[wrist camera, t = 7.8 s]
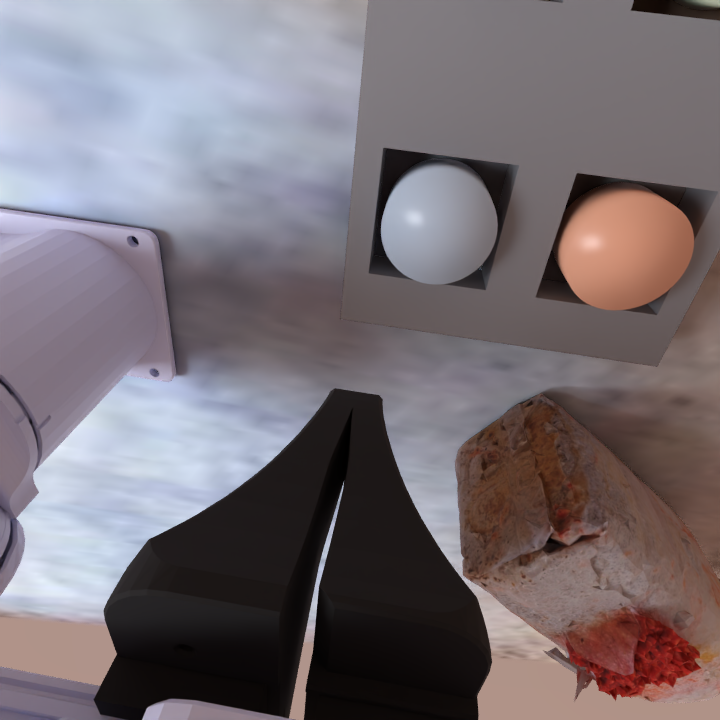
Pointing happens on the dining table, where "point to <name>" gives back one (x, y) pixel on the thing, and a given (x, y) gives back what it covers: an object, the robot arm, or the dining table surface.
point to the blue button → (439, 222)
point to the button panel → (535, 155)
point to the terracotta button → (622, 246)
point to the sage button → (700, 4)
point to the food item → (588, 557)
